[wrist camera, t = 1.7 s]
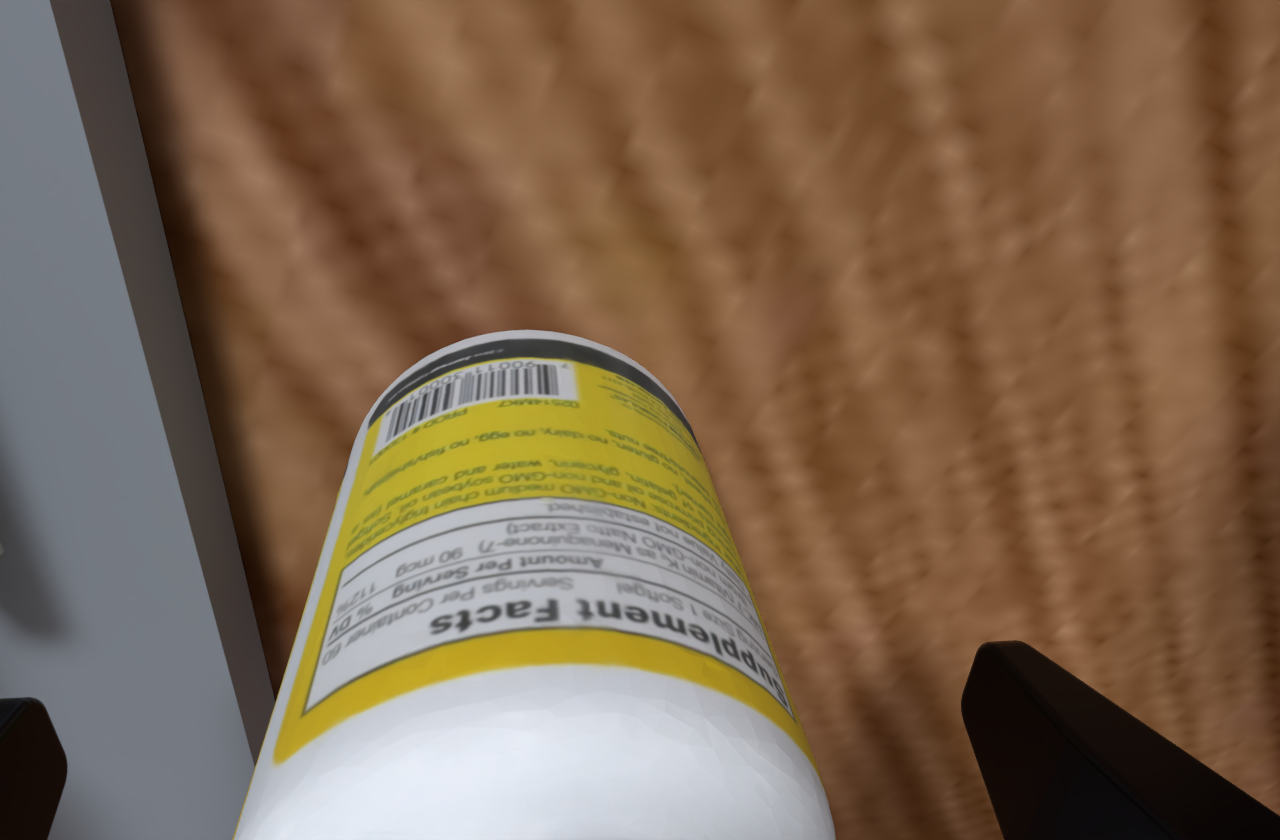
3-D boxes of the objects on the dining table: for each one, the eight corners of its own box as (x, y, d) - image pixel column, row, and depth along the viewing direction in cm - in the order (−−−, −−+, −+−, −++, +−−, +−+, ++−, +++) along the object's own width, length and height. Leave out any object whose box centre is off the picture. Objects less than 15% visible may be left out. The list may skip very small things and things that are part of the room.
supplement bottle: (580, 647, 13) (652, 1479, 6) (292, 531, 12) (-71, 1502, 4) (766, 422, 12) (1161, 1206, 5) (463, 247, 10) (325, 1074, 3)
